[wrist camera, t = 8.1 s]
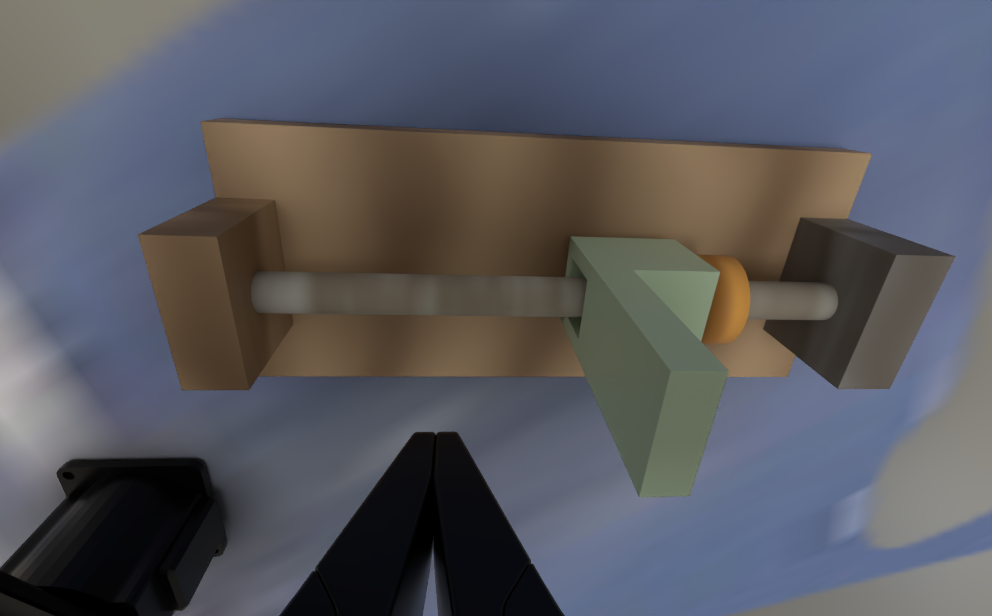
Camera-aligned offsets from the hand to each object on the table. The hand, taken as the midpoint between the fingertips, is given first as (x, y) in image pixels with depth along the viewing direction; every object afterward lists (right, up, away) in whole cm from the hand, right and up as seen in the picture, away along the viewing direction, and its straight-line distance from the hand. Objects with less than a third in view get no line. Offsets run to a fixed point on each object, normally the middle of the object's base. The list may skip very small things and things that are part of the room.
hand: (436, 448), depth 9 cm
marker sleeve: (+6, +4, +9) cm, 11 cm away
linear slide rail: (+3, +5, +11) cm, 12 cm away
